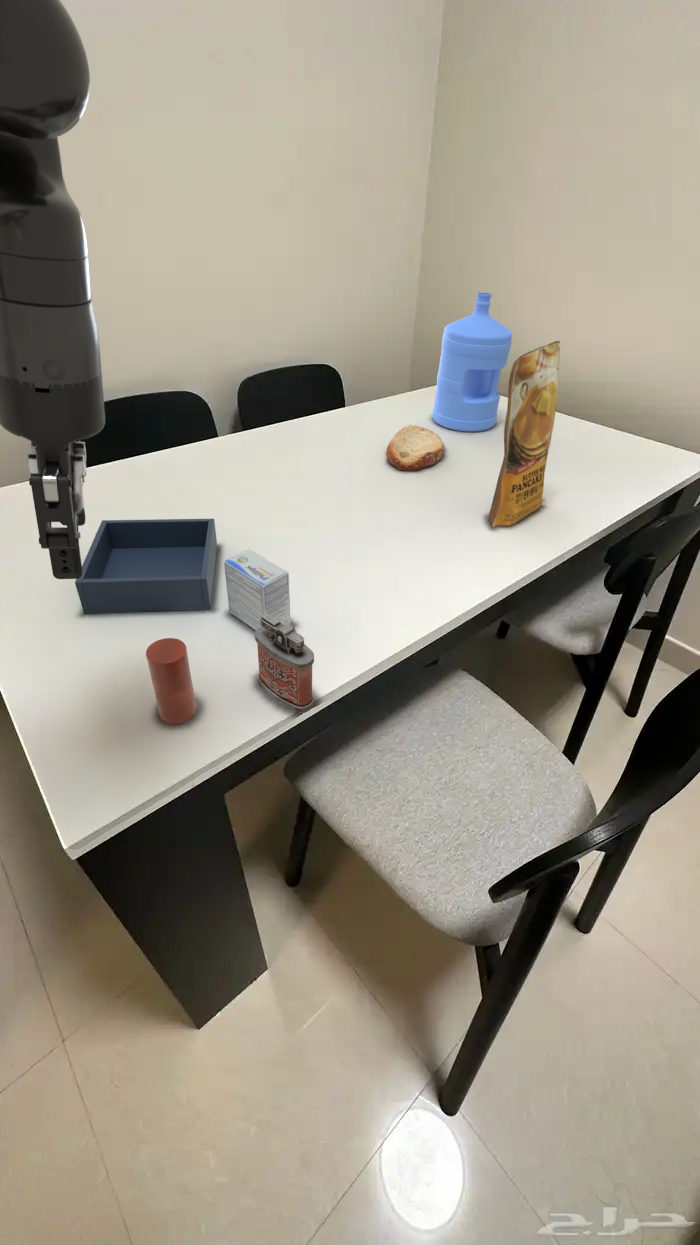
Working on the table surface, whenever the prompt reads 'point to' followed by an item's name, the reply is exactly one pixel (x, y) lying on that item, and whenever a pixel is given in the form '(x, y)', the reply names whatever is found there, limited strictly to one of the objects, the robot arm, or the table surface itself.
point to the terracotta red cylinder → (171, 680)
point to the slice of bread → (414, 448)
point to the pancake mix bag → (526, 435)
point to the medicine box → (256, 589)
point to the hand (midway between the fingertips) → (70, 548)
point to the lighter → (284, 664)
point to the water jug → (471, 370)
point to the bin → (149, 566)
